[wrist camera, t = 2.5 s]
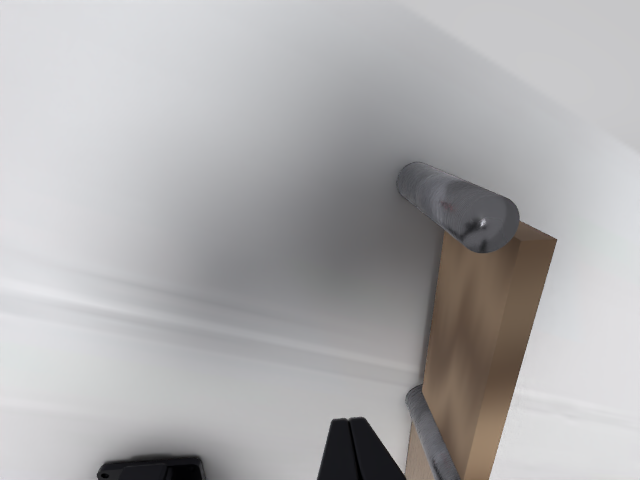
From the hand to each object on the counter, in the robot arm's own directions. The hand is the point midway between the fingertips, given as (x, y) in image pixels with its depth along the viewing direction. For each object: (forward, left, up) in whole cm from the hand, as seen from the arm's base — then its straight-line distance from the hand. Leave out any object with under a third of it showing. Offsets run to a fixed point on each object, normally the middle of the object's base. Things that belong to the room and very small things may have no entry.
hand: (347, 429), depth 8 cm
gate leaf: (-2, -7, -9) cm, 11 cm away
